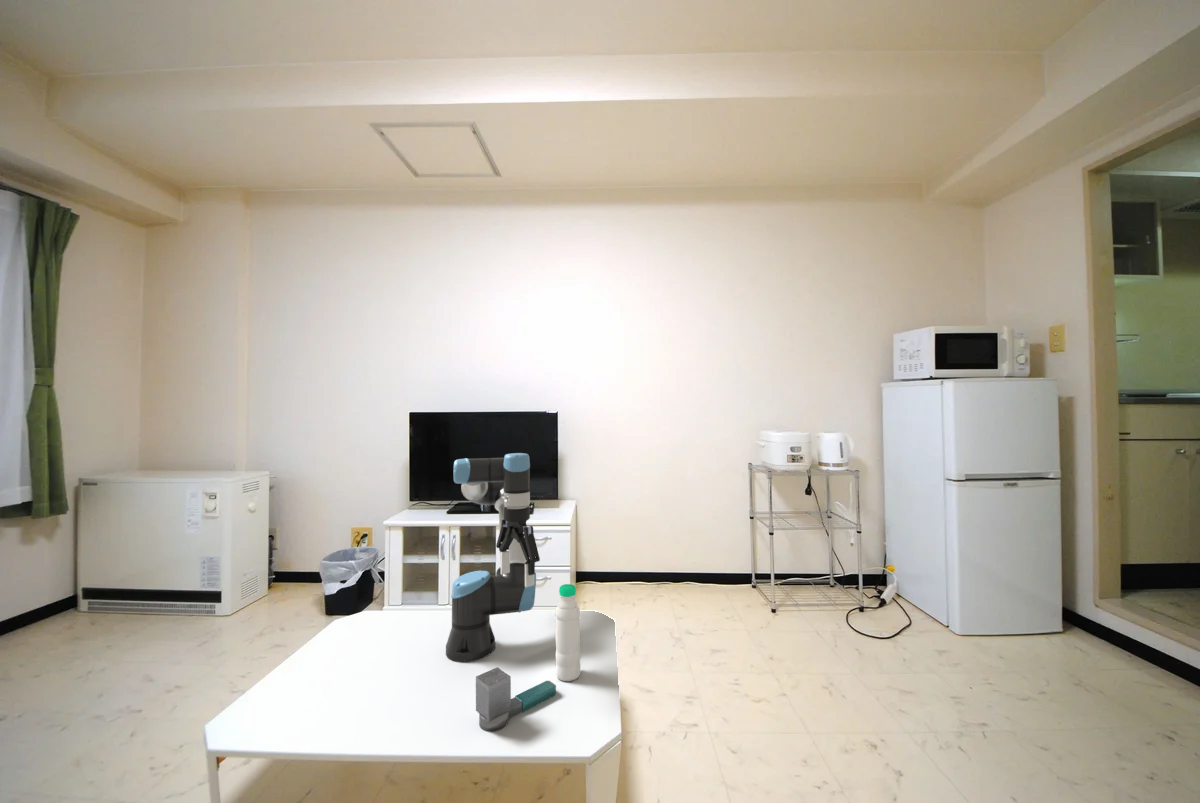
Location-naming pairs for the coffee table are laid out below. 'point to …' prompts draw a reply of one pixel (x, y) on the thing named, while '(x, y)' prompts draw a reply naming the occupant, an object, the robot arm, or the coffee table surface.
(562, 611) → the water bottle
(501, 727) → the ratchet
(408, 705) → the coffee table surface
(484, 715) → the grey metal block
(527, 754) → the coffee table surface
